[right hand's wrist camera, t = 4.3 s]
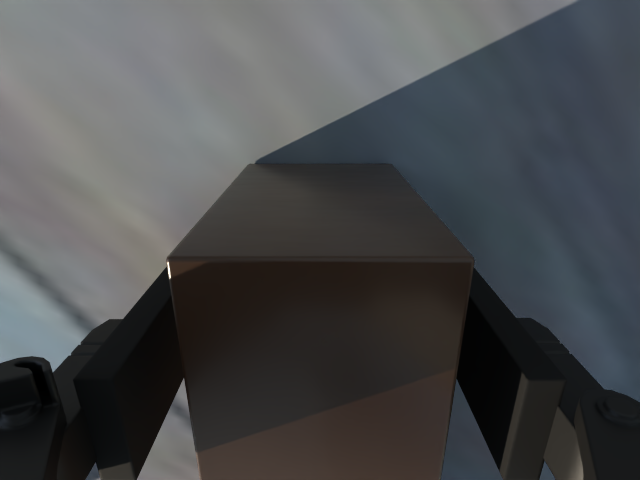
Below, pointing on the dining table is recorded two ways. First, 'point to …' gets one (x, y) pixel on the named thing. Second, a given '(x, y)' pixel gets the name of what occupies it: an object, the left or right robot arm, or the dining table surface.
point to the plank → (320, 326)
